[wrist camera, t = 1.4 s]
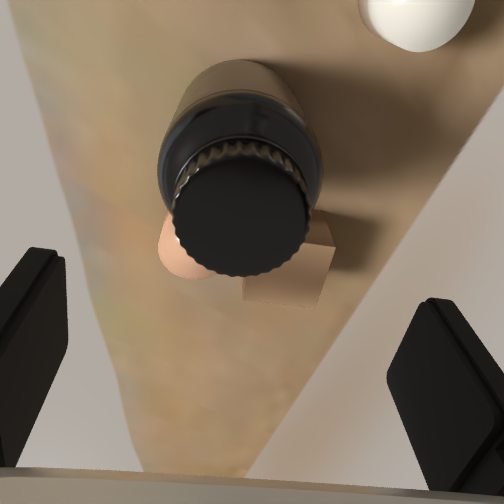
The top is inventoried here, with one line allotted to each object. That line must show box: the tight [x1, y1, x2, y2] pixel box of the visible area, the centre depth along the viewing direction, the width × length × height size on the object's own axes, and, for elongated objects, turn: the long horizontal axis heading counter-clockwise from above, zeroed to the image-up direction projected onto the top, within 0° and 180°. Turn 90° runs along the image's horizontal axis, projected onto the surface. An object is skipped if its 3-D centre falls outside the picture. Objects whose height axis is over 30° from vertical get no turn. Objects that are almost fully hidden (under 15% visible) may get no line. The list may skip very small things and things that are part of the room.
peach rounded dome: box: [158, 209, 216, 279], centre depth 27 cm, size 4×4×4 cm
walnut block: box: [242, 209, 336, 309], centre depth 27 cm, size 4×4×4 cm
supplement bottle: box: [157, 60, 323, 277], centre depth 20 cm, size 7×7×12 cm
